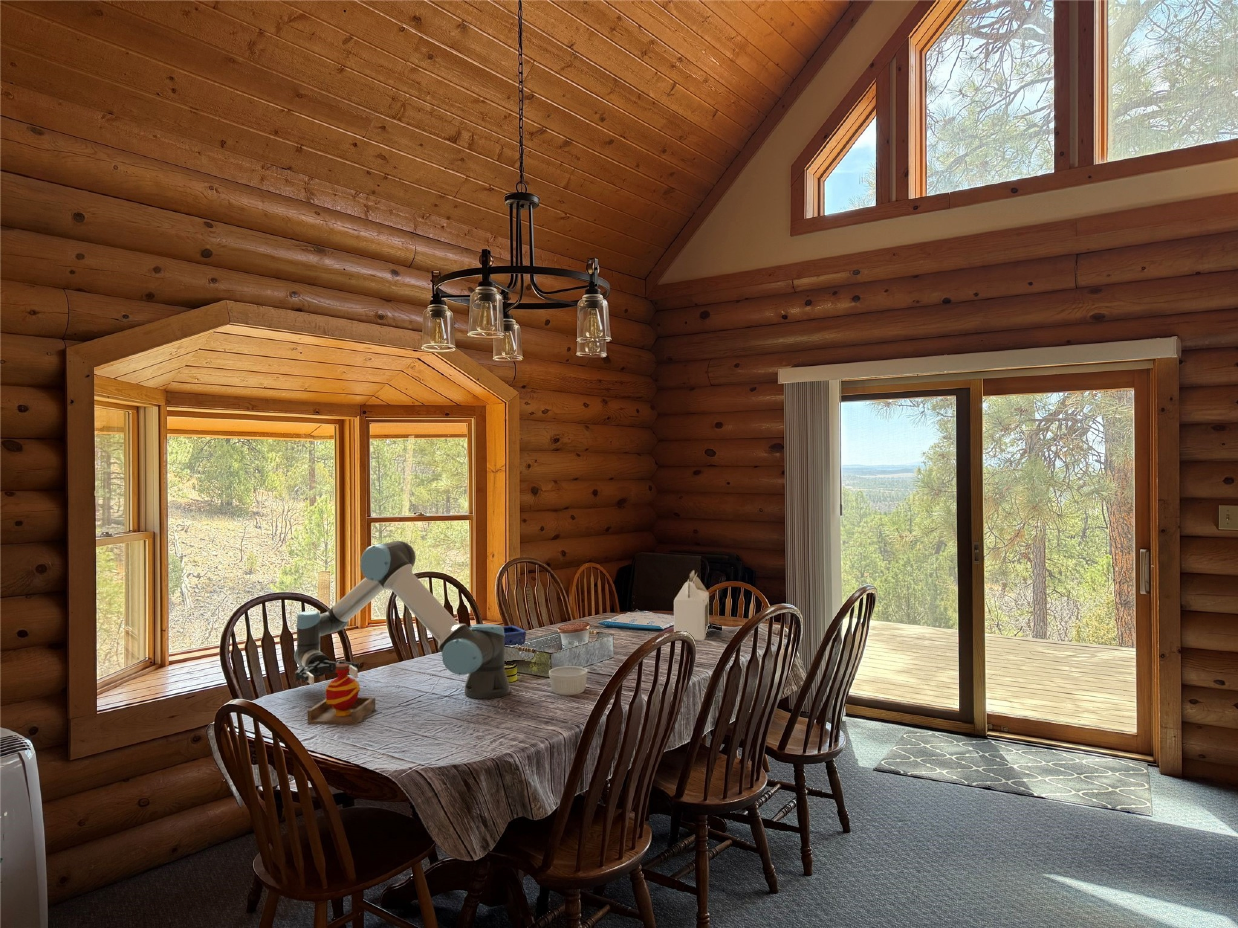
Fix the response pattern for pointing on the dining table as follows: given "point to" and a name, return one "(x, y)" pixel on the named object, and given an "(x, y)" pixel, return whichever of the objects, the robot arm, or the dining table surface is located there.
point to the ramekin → (568, 680)
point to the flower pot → (514, 635)
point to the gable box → (692, 608)
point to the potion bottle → (342, 691)
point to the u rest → (326, 716)
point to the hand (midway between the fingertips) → (334, 677)
